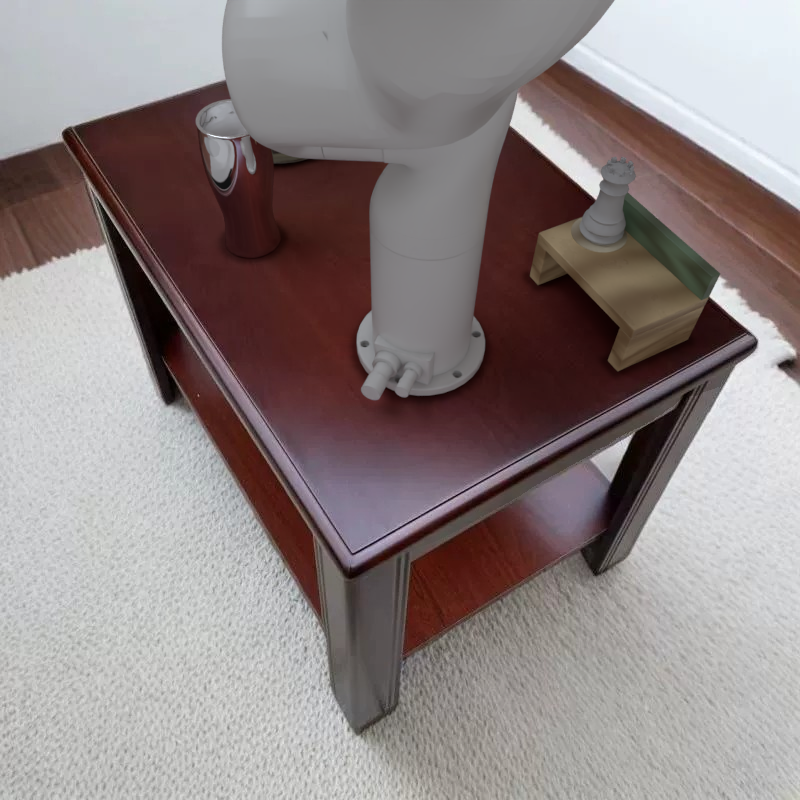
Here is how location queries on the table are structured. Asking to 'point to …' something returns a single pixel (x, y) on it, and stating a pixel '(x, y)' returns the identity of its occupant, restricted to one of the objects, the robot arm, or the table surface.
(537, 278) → the shelf
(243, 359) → the table surface
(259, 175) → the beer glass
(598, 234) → the rook chess piece
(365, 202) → the table surface
